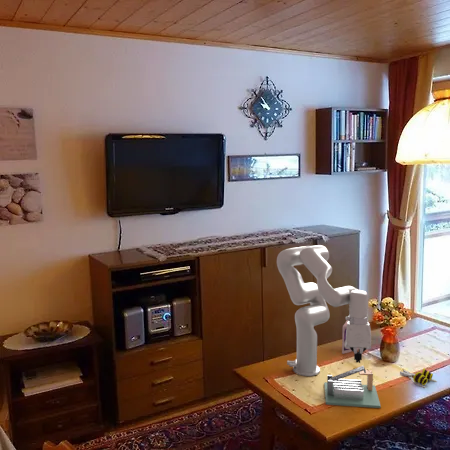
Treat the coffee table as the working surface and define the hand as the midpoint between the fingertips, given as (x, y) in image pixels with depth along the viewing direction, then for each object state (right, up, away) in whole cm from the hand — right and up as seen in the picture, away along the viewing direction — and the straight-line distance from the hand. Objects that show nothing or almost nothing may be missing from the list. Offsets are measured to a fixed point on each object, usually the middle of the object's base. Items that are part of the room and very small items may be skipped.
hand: (357, 361), depth 213 cm
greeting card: (+8, -8, +52) cm, 53 cm away
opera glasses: (+34, -13, +15) cm, 40 cm away
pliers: (+32, -13, +18) cm, 39 cm away
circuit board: (-2, -16, +3) cm, 16 cm away
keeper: (+5, -14, +8) cm, 17 cm away
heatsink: (-5, -15, +4) cm, 16 cm away
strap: (-4, -8, +2) cm, 9 cm away
